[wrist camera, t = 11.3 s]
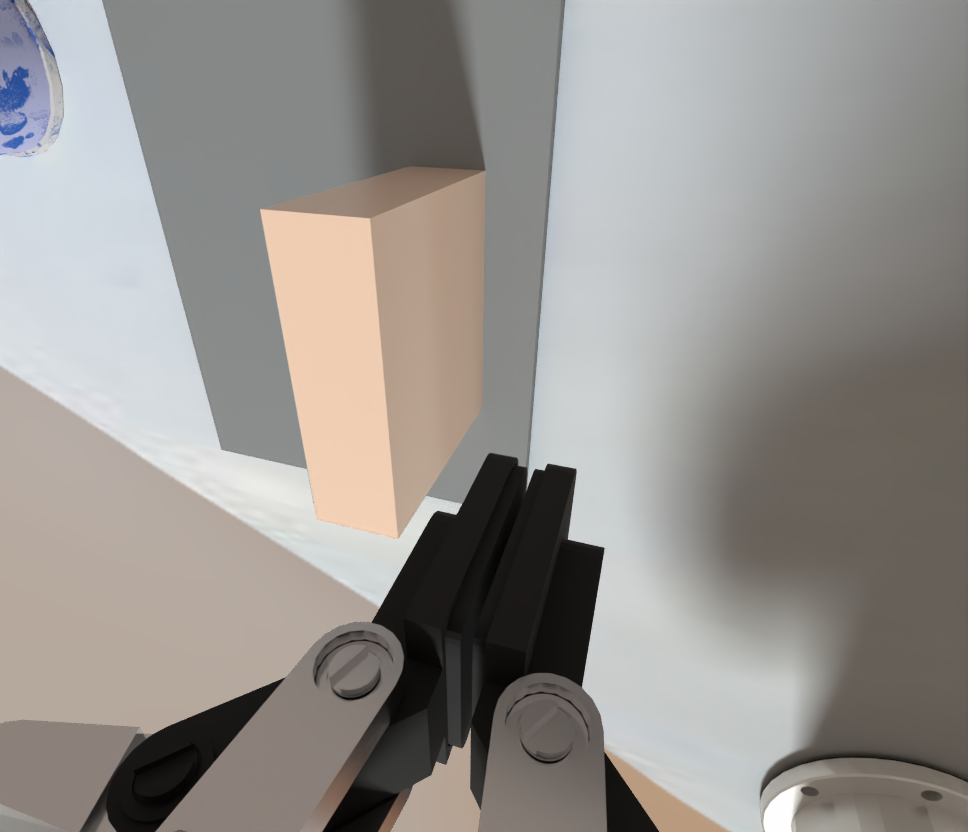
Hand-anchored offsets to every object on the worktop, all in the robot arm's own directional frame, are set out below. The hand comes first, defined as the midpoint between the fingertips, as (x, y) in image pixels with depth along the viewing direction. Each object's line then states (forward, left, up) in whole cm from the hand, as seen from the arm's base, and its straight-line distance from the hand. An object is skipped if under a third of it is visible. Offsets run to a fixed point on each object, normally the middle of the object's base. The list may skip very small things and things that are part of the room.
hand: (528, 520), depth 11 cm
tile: (-1, +6, -13) cm, 14 cm away
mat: (0, +12, -14) cm, 18 cm away
